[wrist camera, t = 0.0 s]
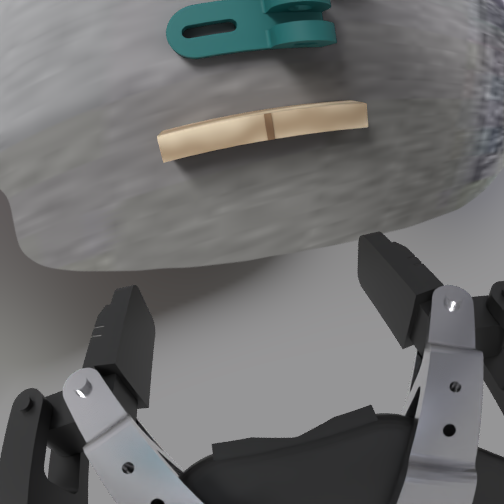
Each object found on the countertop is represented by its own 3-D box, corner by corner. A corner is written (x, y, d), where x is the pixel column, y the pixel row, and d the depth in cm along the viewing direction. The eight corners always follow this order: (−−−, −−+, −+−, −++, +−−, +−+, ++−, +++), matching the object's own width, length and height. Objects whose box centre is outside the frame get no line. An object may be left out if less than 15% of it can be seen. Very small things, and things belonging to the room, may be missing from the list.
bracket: (313, 0, 28) (337, -16, 21) (320, 47, 31) (347, 40, 25) (164, 15, 27) (155, -2, 20) (172, 64, 30) (164, 58, 24)
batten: (162, 131, 34) (156, 137, 30) (350, 100, 35) (367, 103, 31) (167, 154, 36) (163, 163, 32) (351, 121, 37) (368, 127, 33)
